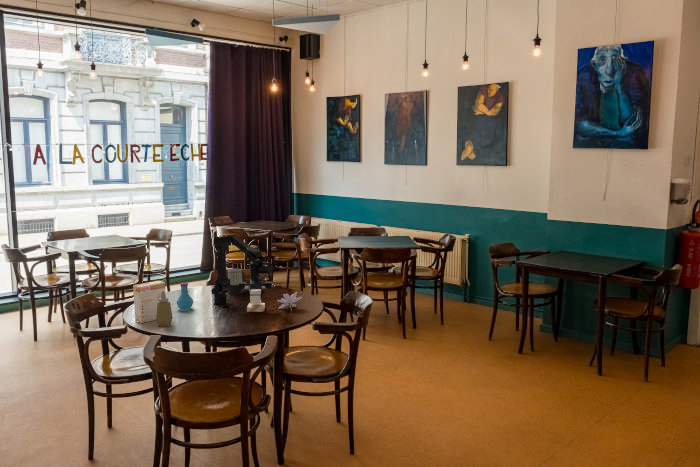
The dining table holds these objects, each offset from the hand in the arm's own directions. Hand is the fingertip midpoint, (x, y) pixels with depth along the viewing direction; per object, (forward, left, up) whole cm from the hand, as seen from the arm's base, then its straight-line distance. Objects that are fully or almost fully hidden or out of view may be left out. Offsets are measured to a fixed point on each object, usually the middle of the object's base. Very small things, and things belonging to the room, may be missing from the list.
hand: (255, 300), depth 339 cm
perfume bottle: (-40, +4, -6) cm, 41 cm away
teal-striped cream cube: (0, 0, -2) cm, 2 cm away
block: (0, 0, -6) cm, 6 cm away
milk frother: (-19, +42, -6) cm, 47 cm away
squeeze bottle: (-44, -27, -6) cm, 52 cm away
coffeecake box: (-54, -15, -6) cm, 56 cm away
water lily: (+19, 0, -6) cm, 20 cm away
